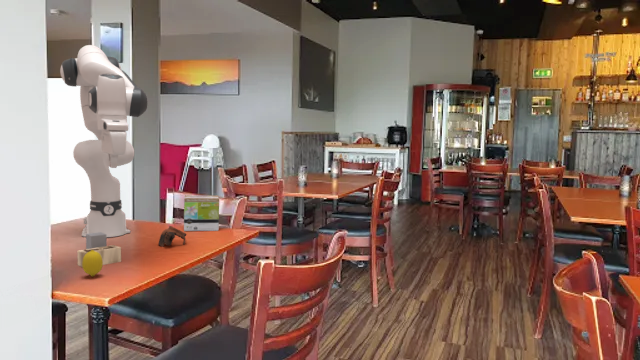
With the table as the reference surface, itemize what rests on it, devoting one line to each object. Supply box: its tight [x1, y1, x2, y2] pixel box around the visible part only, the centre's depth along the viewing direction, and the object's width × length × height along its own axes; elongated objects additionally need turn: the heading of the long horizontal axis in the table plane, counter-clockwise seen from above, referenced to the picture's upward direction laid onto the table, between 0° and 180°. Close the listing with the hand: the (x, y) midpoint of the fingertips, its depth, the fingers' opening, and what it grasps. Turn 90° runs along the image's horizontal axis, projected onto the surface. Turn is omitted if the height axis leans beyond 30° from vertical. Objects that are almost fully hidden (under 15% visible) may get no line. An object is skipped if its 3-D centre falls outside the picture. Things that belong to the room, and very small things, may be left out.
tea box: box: [183, 194, 220, 232], centre depth 229 cm, size 15×10×15 cm, turn 104°
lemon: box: [81, 250, 104, 278], centre depth 153 cm, size 6×6×8 cm
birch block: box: [76, 244, 122, 268], centre depth 168 cm, size 5×5×12 cm
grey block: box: [85, 232, 108, 249], centre depth 176 cm, size 5×5×8 cm
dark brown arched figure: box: [158, 225, 187, 248], centre depth 196 cm, size 12×10×8 cm
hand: (113, 167), depth 168 cm, fingers closed
